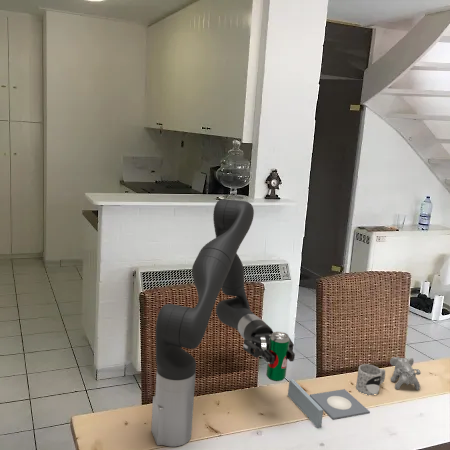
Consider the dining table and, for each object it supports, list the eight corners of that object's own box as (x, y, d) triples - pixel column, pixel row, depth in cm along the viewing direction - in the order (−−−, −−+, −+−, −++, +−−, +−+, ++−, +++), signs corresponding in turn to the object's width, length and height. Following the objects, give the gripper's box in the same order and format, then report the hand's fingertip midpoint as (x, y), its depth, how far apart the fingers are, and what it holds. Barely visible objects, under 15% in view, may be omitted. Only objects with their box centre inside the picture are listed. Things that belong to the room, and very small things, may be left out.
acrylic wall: (317, 427, 130) (319, 410, 129) (287, 395, 145) (289, 379, 144) (321, 427, 131) (323, 409, 130) (291, 394, 145) (293, 379, 144)
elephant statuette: (400, 394, 151) (405, 372, 149) (375, 373, 161) (380, 351, 159) (424, 391, 154) (430, 368, 152) (398, 370, 165) (403, 349, 163)
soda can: (284, 383, 129) (289, 340, 127) (264, 380, 130) (269, 337, 127) (286, 374, 134) (290, 332, 131) (267, 371, 135) (271, 329, 132)
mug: (367, 397, 147) (370, 377, 145) (351, 386, 152) (354, 366, 151) (391, 390, 152) (394, 370, 150) (374, 380, 157) (377, 360, 156)
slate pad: (332, 419, 134) (333, 417, 134) (309, 396, 145) (309, 394, 145) (369, 413, 139) (369, 411, 139) (344, 390, 150) (344, 388, 150)
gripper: (233, 321, 140) (259, 348, 125) (278, 317, 145) (309, 343, 130) (230, 346, 142) (256, 376, 126) (276, 341, 147) (305, 369, 132)
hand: (283, 359), depth 128 cm, fingers closed on soda can, 5 cm apart
